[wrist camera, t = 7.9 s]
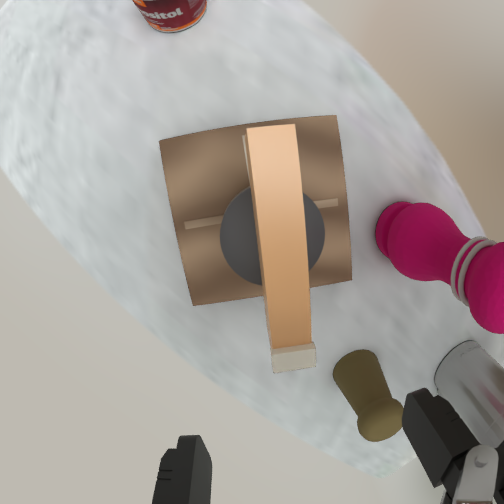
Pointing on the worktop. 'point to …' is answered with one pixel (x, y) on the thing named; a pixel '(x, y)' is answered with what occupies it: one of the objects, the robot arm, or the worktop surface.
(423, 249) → the pepper mill
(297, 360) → the tan long piece
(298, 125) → the square stand base
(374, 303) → the worktop surface
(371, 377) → the cork
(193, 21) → the pill bottle
